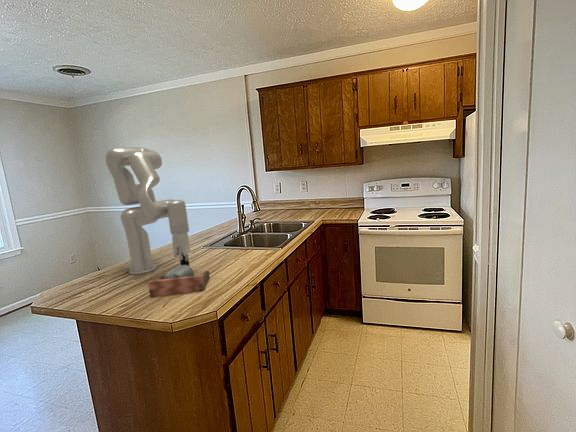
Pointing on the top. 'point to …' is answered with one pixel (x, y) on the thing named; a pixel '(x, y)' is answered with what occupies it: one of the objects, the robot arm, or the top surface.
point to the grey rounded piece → (180, 272)
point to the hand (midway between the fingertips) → (185, 269)
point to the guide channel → (178, 285)
